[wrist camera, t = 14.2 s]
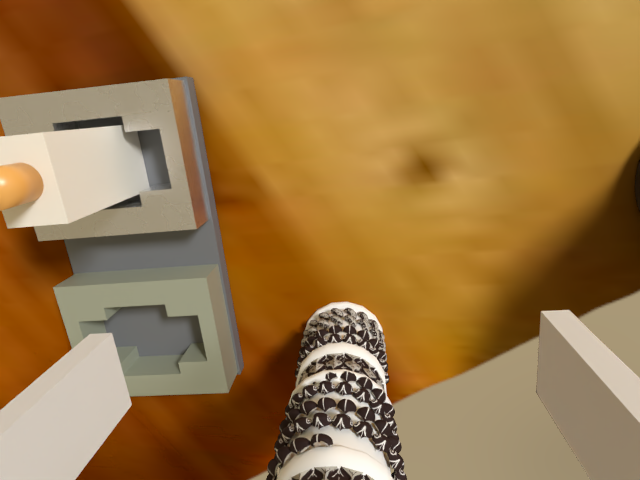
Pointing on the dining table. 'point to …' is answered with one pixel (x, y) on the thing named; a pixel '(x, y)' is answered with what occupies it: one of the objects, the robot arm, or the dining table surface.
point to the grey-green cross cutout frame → (180, 300)
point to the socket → (137, 114)
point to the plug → (68, 174)
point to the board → (158, 254)
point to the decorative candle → (339, 403)
